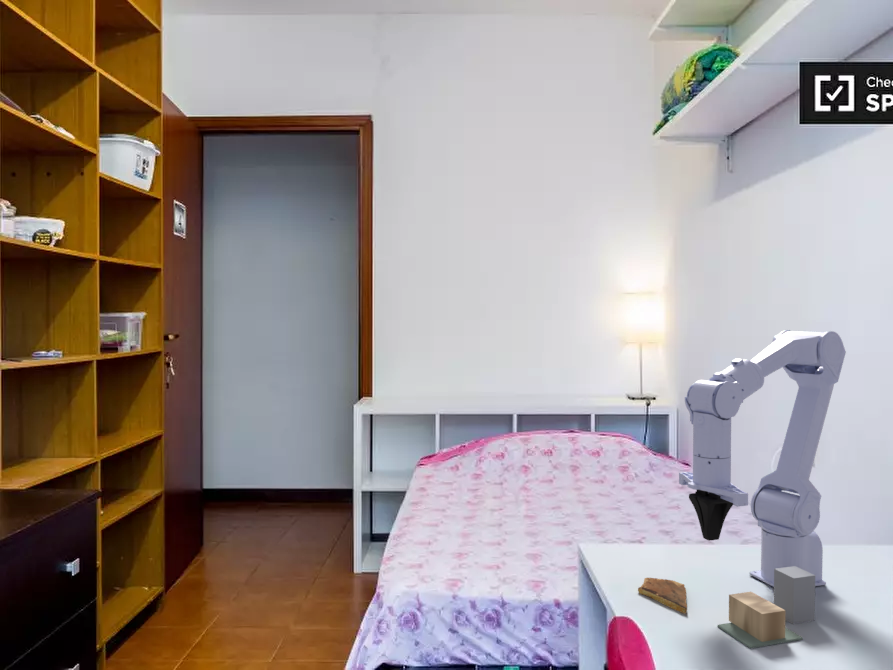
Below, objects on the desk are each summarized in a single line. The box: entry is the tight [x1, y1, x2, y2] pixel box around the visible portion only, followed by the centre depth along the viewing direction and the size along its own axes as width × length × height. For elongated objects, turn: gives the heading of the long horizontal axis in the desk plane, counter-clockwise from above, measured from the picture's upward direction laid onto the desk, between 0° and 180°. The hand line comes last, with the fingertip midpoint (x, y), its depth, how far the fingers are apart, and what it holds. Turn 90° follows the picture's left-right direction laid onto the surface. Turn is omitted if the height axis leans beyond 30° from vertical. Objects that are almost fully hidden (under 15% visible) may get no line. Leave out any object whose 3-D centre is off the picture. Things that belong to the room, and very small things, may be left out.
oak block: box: [728, 591, 786, 642], centre depth 103 cm, size 4×4×7 cm
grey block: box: [773, 566, 816, 625], centre depth 107 cm, size 4×4×7 cm
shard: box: [637, 577, 688, 615], centre depth 115 cm, size 11×8×2 cm
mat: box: [717, 622, 804, 649], centre depth 102 cm, size 9×7×1 cm
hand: (711, 538), depth 113 cm, fingers closed
